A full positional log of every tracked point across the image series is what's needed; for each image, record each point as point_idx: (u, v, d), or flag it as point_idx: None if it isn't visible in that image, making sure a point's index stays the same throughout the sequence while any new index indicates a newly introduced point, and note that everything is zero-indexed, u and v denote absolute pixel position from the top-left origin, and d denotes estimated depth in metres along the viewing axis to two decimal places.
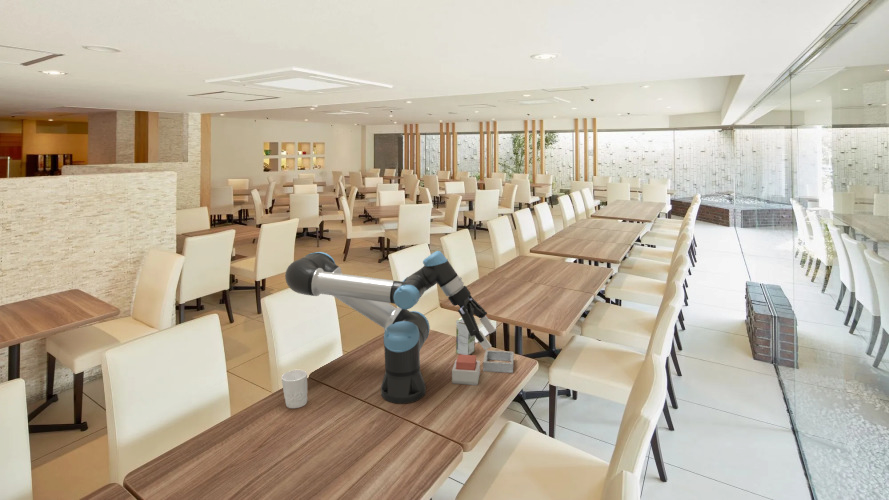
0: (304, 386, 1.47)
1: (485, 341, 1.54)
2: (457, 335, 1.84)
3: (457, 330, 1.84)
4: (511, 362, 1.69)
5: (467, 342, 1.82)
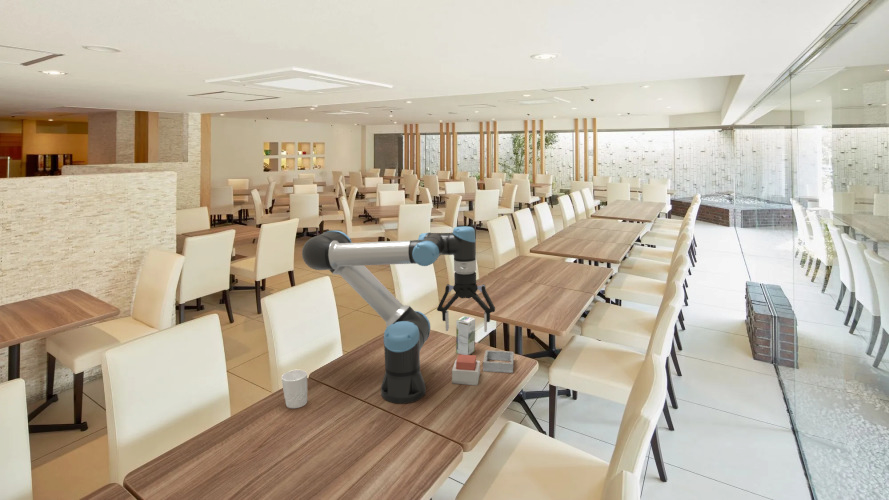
0: (304, 386, 1.47)
1: None
2: (457, 335, 1.84)
3: (457, 330, 1.84)
4: (511, 362, 1.69)
5: (467, 342, 1.82)
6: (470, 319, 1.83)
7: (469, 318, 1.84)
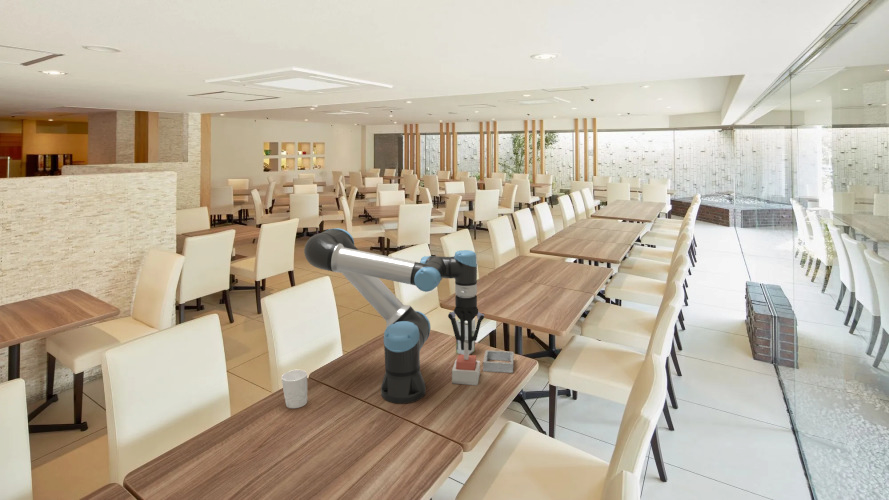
0: (304, 386, 1.47)
1: (464, 352, 1.62)
2: None
3: None
4: (511, 362, 1.69)
5: None
6: None
7: None
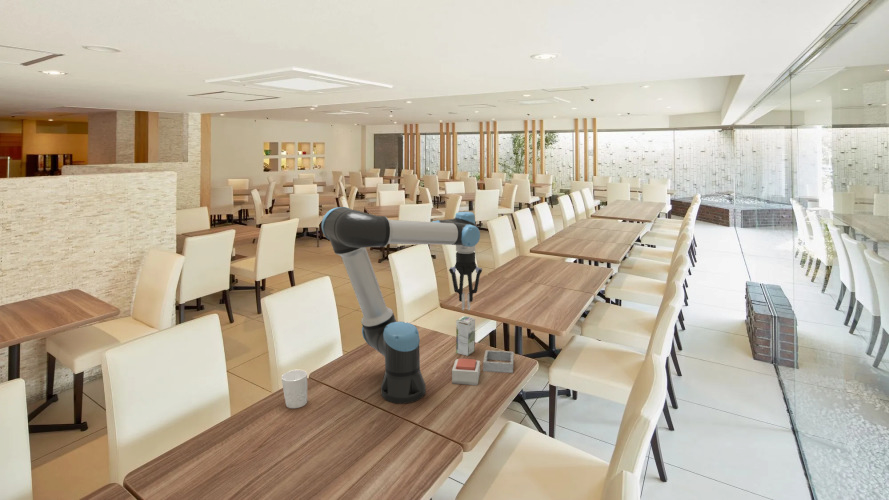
0: (304, 386, 1.47)
1: (462, 303, 1.82)
2: (457, 335, 1.84)
3: (457, 330, 1.84)
4: (511, 362, 1.69)
5: (467, 342, 1.82)
6: (470, 319, 1.83)
7: (469, 318, 1.84)
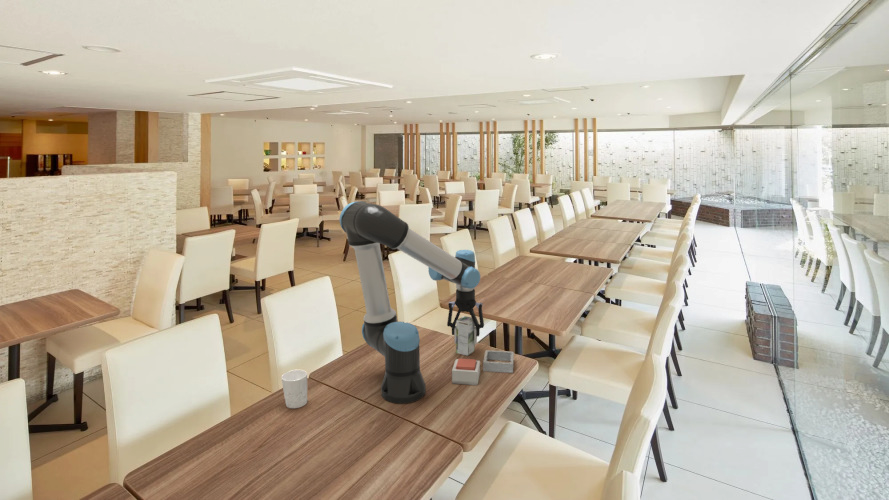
0: (304, 386, 1.47)
1: None
2: (457, 335, 1.84)
3: (457, 330, 1.83)
4: (511, 362, 1.69)
5: (467, 342, 1.82)
6: (470, 319, 1.83)
7: (469, 318, 1.84)
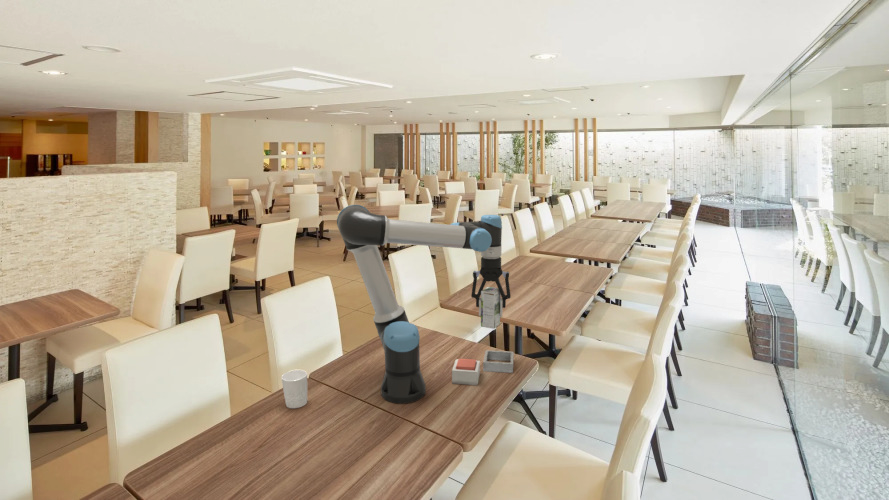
0: (304, 386, 1.47)
1: (479, 309, 1.73)
2: (482, 307, 1.72)
3: (482, 301, 1.71)
4: (511, 362, 1.69)
5: (493, 313, 1.70)
6: (495, 289, 1.71)
7: (494, 288, 1.72)
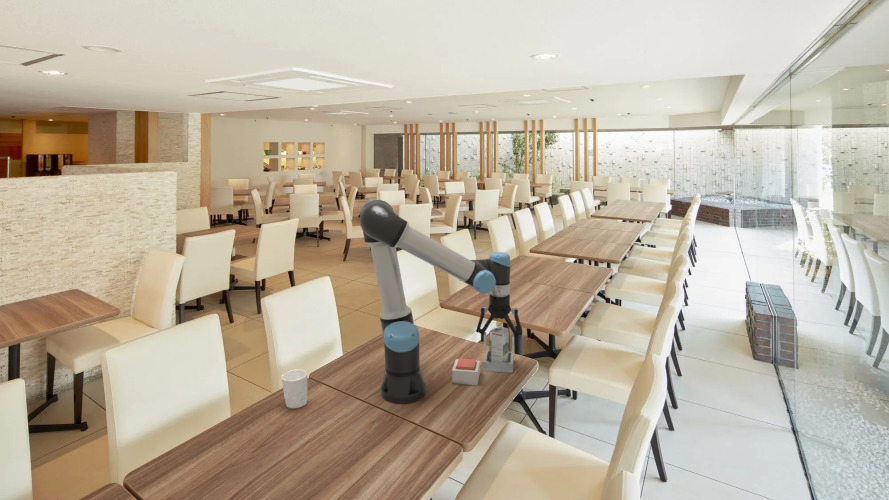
0: (304, 386, 1.47)
1: None
2: (490, 347, 1.72)
3: (490, 342, 1.72)
4: (511, 362, 1.69)
5: (501, 354, 1.70)
6: (504, 330, 1.72)
7: (502, 328, 1.72)
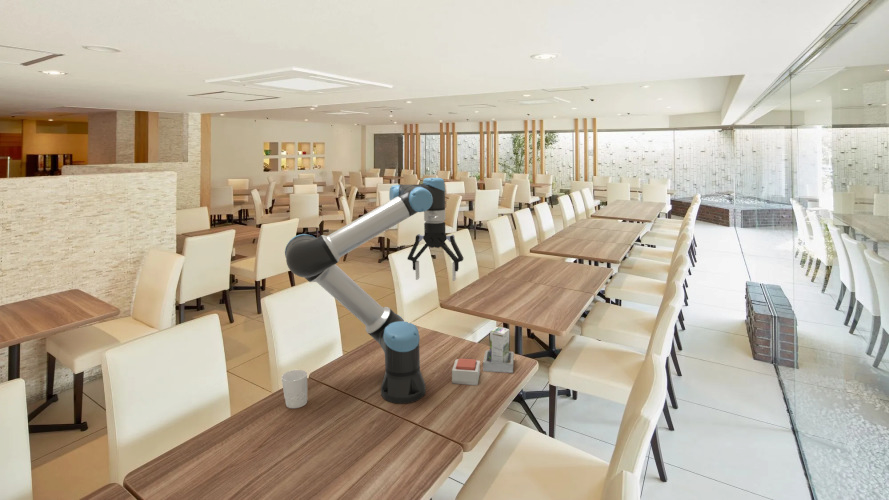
0: (304, 386, 1.47)
1: None
2: (490, 347, 1.72)
3: (491, 342, 1.71)
4: (511, 362, 1.69)
5: (502, 354, 1.70)
6: (504, 330, 1.71)
7: (503, 329, 1.72)
